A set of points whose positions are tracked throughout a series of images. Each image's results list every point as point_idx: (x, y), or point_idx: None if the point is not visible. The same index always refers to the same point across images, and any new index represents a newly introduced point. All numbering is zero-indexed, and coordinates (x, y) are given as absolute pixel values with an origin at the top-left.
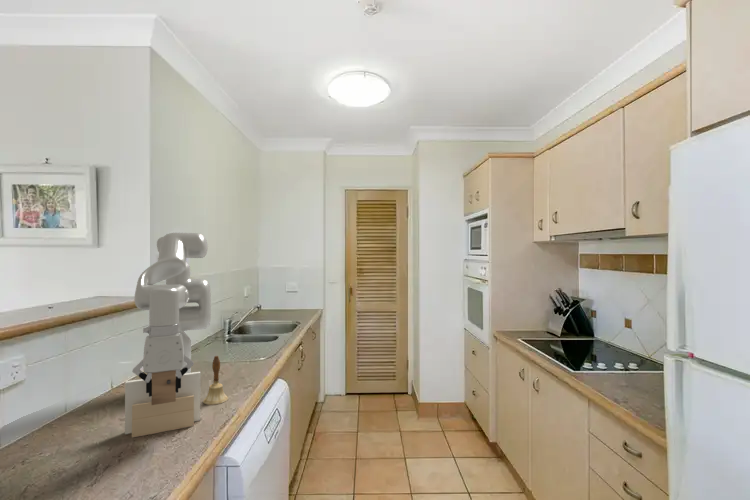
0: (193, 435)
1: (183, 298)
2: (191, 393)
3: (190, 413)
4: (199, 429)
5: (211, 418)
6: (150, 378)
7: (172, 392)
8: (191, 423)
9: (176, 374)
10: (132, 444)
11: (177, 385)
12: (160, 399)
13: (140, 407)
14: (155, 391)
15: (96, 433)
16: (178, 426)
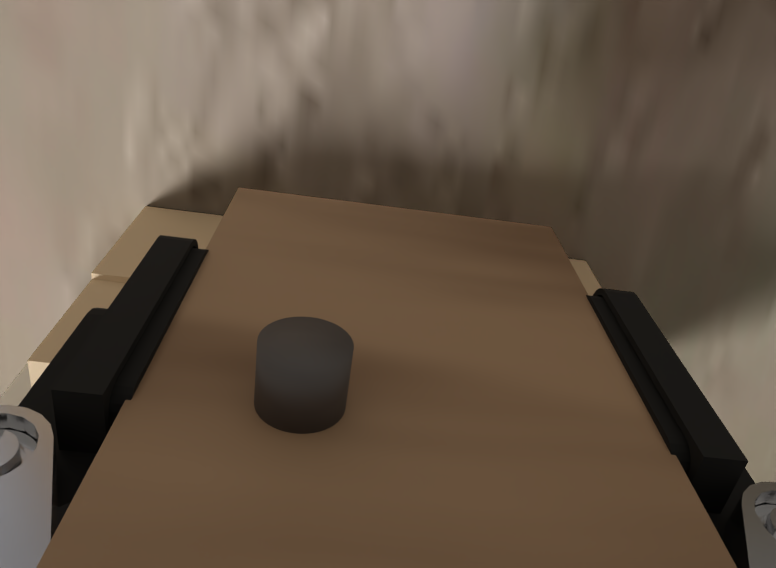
0: (149, 3)
1: None
2: None
3: (135, 260)
4: (97, 104)
5: (3, 267)
6: (758, 560)
7: (259, 257)
8: (156, 217)
9: (46, 508)
10: (609, 136)
11: (133, 296)
12: (445, 241)
13: None
14: (545, 323)
15: (743, 444)
16: None
